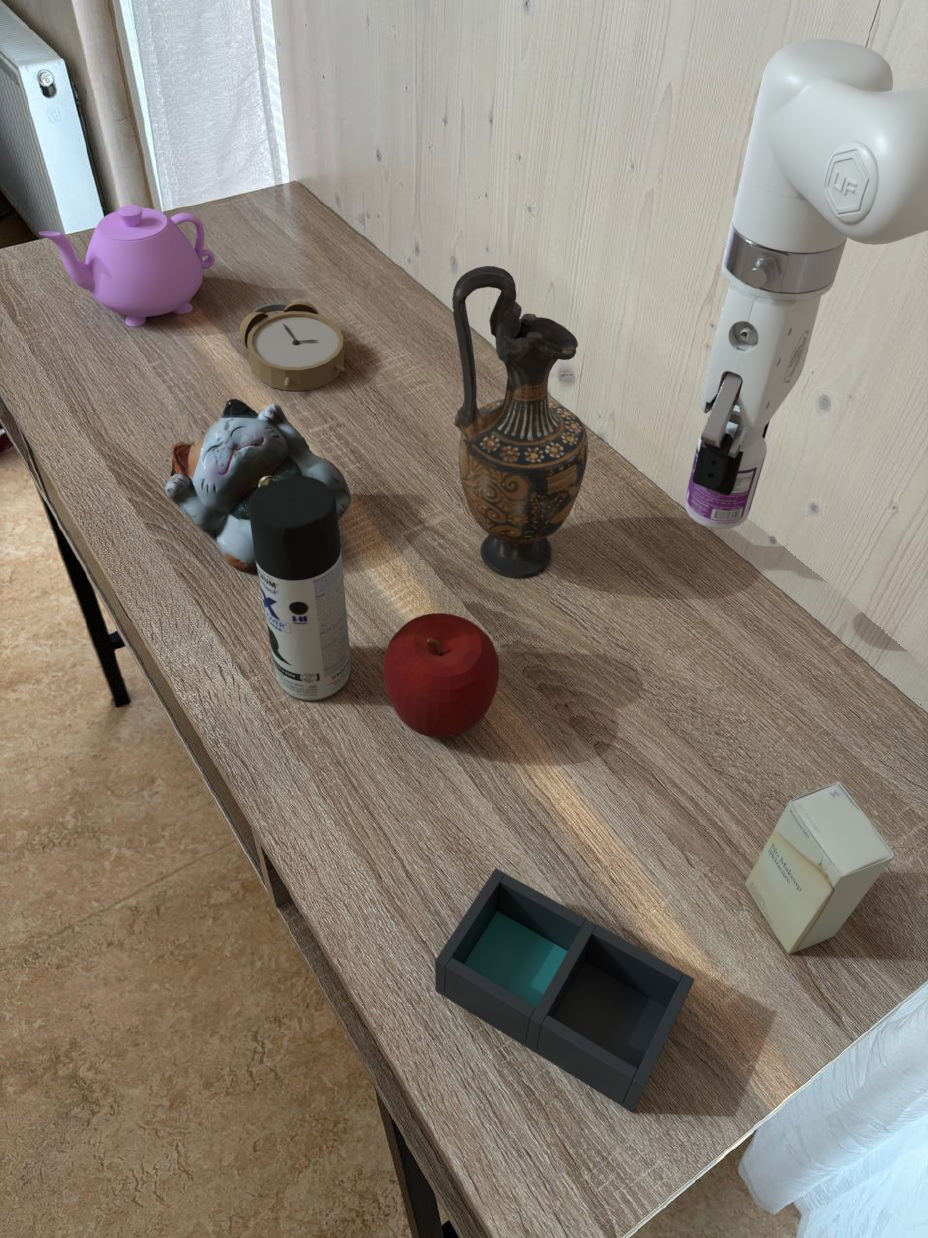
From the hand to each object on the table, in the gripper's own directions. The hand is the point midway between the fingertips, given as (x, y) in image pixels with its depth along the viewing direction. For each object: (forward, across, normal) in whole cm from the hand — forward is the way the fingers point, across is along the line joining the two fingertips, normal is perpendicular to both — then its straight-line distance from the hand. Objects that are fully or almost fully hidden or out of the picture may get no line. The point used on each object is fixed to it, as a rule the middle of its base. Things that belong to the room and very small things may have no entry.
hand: (727, 464), depth 81 cm
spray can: (+19, -24, +25) cm, 39 cm away
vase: (+19, 0, +19) cm, 27 cm away
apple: (+19, -21, +13) cm, 32 cm away
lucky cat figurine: (+19, -12, +41) cm, 46 cm away
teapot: (+18, +13, +81) cm, 84 cm away
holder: (+19, -38, -7) cm, 43 cm away
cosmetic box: (+19, -22, -18) cm, 35 cm away
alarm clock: (+18, +14, +58) cm, 62 cm away
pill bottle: (+5, 0, 0) cm, 5 cm away
